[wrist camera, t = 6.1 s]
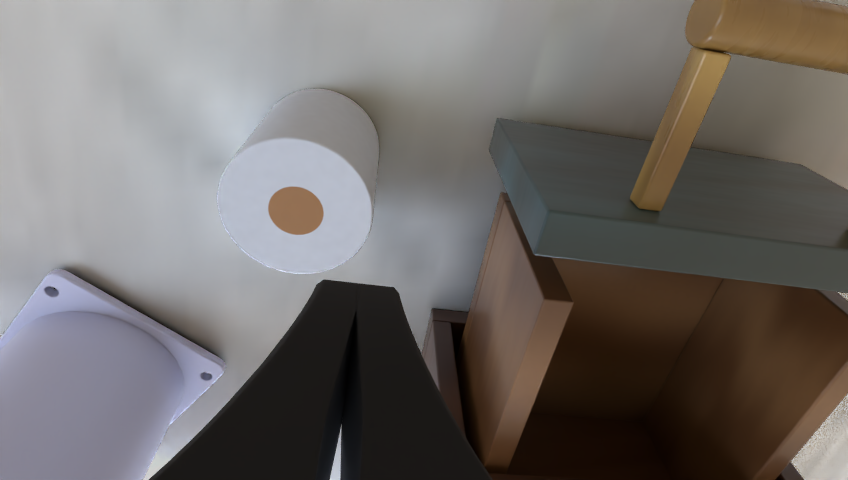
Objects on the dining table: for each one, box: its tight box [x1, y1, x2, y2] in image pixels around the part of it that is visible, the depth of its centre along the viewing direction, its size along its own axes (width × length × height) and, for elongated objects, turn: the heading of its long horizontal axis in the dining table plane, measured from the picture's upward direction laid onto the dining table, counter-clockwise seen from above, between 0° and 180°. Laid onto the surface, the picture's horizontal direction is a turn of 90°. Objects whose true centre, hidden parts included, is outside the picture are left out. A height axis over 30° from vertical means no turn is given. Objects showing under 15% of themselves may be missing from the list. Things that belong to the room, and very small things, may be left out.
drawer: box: [456, 0, 848, 480], centre depth 17 cm, size 18×11×7 cm, turn 171°
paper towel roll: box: [217, 88, 379, 274], centre depth 16 cm, size 4×4×5 cm
